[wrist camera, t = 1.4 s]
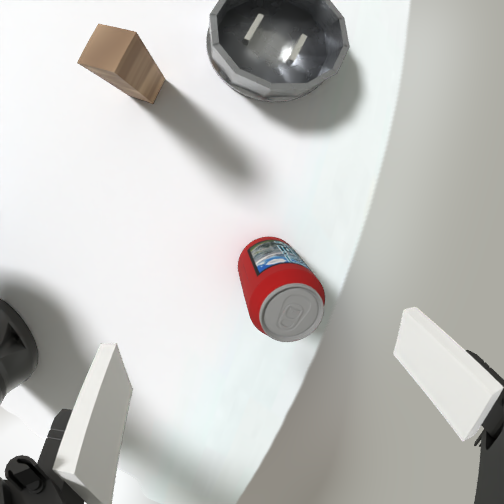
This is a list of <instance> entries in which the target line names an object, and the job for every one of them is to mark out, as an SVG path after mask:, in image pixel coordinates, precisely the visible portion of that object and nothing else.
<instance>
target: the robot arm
mask: <svg viewBox="0 0 504 504" xmlns="http://www.w3.org/2000/svg"><path fill="white" fill-rule="evenodd" d="M393 355H394V356H395V357H396V358H397V359H398V361H399V362H400V363H401V364H402V365H403V367H404V368H405V369H406V370H407V372H408V373H409V374H410V375H411V376H412V378H413V379H414V380H415V381H416V383H417V384H418V385H419V386H420V387H421V389H422V390H423V391H424V393H425V394H426V395H427V396H428V398H429V399H430V400H431V401H432V403H433V404H434V405H435V406H436V408H437V409H438V410H439V411H440V413H441V414H442V415H443V417H444V418H445V419H446V420H447V422H448V423H449V424H450V426H451V427H452V428H453V429H454V431H455V432H456V433H457V435H458V436H459V437H460V439H461V440H462V441H465V440H467V439H468V438H470V437H472V436H473V435H475V433H476V432H477V431H478V429H479V428H480V426H481V425H482V426H483V427H484V430H483V431H482V433H481V434H480V436H479V437H478V439H477V440H476V441H475V444H474V446H476V445H477V444H478V443H479V441H480V440H481V444H480V445H479V447H481V453H480V466H479V475H478V482H477V489H476V496H475V502H474V504H504V380H503V379H502V378H501V377H500V376H499V375H498V374H497V373H496V372H495V371H494V370H493V369H492V368H489V366H488V364H486V363H484V361H483V360H482V359H481V358H480V357H479V356H478V355H477V354H475V353H473V352H471V351H469V350H466V351H465V350H464V349H463V348H462V347H461V346H460V345H459V344H458V343H456V342H455V341H454V340H453V339H452V338H451V337H450V336H449V335H447V334H446V333H445V332H444V331H443V330H442V329H441V328H440V327H438V326H437V325H436V324H435V323H434V322H433V321H432V320H431V319H429V318H428V317H427V316H426V315H425V314H424V313H422V312H421V311H420V310H419V309H418V308H417V307H412V308H407V309H404V311H403V315H402V320H401V324H400V329H399V333H398V338H397V342H396V345H395V349H394V353H393ZM37 363H38V352H37V347H36V344H35V341H34V339H33V336H32V334H31V332H30V331H29V329H28V327H27V326H26V324H25V323H24V321H23V320H22V319H21V317H20V316H19V315H18V314H17V313H16V312H15V311H14V310H13V309H12V308H11V307H10V306H9V305H8V304H7V303H5V302H4V301H2V300H1V299H0V404H1V403H2V401H3V399H4V397H5V396H6V394H7V393H8V392H10V391H11V390H13V389H14V388H16V387H17V386H18V385H20V384H21V383H23V382H24V381H26V380H27V379H28V378H29V377H30V376H31V375H32V373H33V371H34V370H35V368H36V366H37ZM132 391H133V388H132V386H131V383H130V380H129V378H128V375H127V372H126V369H125V367H124V364H123V361H122V358H121V355H120V352H119V349H118V346H117V343H101V344H100V346H99V349H98V351H97V353H96V355H95V358H94V360H93V362H92V364H91V367H90V369H89V371H88V374H87V376H86V378H85V381H84V383H83V386H82V388H81V391H80V393H79V396H78V398H77V401H76V403H75V406H74V408H73V410H69V409H62V410H61V411H60V412H59V414H58V415H57V416H56V417H55V418H54V421H53V423H52V426H51V430H50V431H49V433H48V436H47V437H48V438H46V441H45V444H44V446H43V449H42V452H41V455H40V458H39V460H38V463H36V462H35V461H34V460H33V459H32V458H30V457H28V456H23V455H21V456H16V457H15V458H13V459H11V460H10V461H9V463H8V464H7V466H6V469H5V476H6V478H7V479H8V480H3V479H2V478H1V477H0V504H84V501H85V502H86V503H87V504H112V497H113V490H114V484H115V477H116V471H117V465H118V459H119V454H120V448H121V443H122V437H123V432H124V427H125V423H126V418H127V413H128V408H129V404H130V399H131V395H132Z"/></svg>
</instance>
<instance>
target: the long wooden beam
mask: <svg viewBox="0 0 504 504" xmlns="http://www.w3.org/2000/svg"><path fill="white" fill-rule="evenodd" d="M77 63H78V64H80V65H82V66H83V67H85V68H86V69H88V70H90V71H91V72H93V73H94V74H96V75H98V76H99V77H101V78H102V79H104V80H105V81H107V82H109V83H110V84H112V85H113V86H115V87H116V88H118V89H119V90H121V91H122V92H124V93H126V94H127V95H129V96H131V97H134V98H137V99H140V100H143V101H146V102H149V103H152V104H154V101H155V99H156V97H157V95H158V93H159V91H160V89H161V87H162V85H163V83H164V81H165V78H164V76H163V74H162V73H161V71H160V70H159V68H158V66H157V65H156V63H155V61H154V60H153V58H152V57H151V55H150V53H149V52H148V50H147V49H146V47H145V45H144V44H143V42H142V40H141V39H140V37H139V36H138V34H137V32H134V31H130V30H125V29H121V28H117V27H112V26H107V25H102V24H98V25H97V27H96V29H95V31H94V32H93V34H92V36H91V38H90V39H89V41H88V43H87V45H86V47H85V49H84V51H83V52H82V54H81V56H80V58H79V60H78V62H77Z"/></svg>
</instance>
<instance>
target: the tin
mask: <svg viewBox="0 0 504 504" xmlns="http://www.w3.org/2000/svg"><path fill="white" fill-rule="evenodd" d="M348 49H349V42H348V36H347V30H346V25H345V20H344V17H343V16H342V15H341V13H340V12H339V11H338V10H337V8H336V7H335V6H334V5H333V3H332V2H331V1H330V0H219V1H218V3H217V4H216V6H215V7H214V9H213V10H212V12H211V13H210V23H209V29H208V33H207V53H208V57H209V60H210V63H211V65H212V67H213V69H214V70H215V72H216V73H217V75H218V76H219V77H220V78H221V79H222V80H223V81H224V82H225V83H226V84H227V85H228V86H230V87H231V88H232V89H234V90H235V91H237V92H239V93H241V94H243V95H245V96H248V97H250V98H253V99H257V100H261V101H268V102H282V101H289V100H293V99H296V98H299V97H302V96H304V95H306V94H308V93H310V92H311V91H313V90H314V89H316V88H317V87H318V86H319V85H320V84H321V83H322V82H323V81H324V80H326V79H328V78H329V77H331V76H333V75H335V74H337V72H338V70H339V68H340V66H341V64H342V62H343V60H344V57H345V55H346V53H347V51H348Z"/></svg>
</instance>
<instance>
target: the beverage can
mask: <svg viewBox="0 0 504 504" xmlns="http://www.w3.org/2000/svg"><path fill="white" fill-rule="evenodd" d="M238 272H239V276H240V281H241V285H242V289H243V293H244V297H245V301H246V304H247V308H248V311H249V315H250V318H251V320H252V322H253V324H254V325H255V327H256V328H257V329H258V330H260V331H261V332H262V333H264V334H266V335H268V336H269V337H271V338H272V339H274V340H277V341H281V342H293V341H297V340H300V339H303V338H305V337H307V336H308V335H310V334H311V333H312V332H313V331H314V330H315V329H316V328H317V327H318V325H319V324H320V322H321V320H322V317H323V314H324V304H325V294H324V290H323V287H322V285H321V283H320V282H319V280H318V279H317V278H316V276H315V275H314V274H313V273H312V271H311V270H310V269H309V268H308V266H307V265H306V264H305V263H304V261H303V260H302V259H301V258H300V257H299V256H298V254H297V253H296V252H295V251H294V250H293V249H292V248H291V246H290V245H289V244H288V243H286V242H285V241H283V240H282V239H279V238H276V237H262V238H259V239H256V240H254V241H252V242H251V243H250V244H248V245H247V246H246V247H245V248H244V250H243V251H242V253H241V255H240V257H239V261H238Z"/></svg>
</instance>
